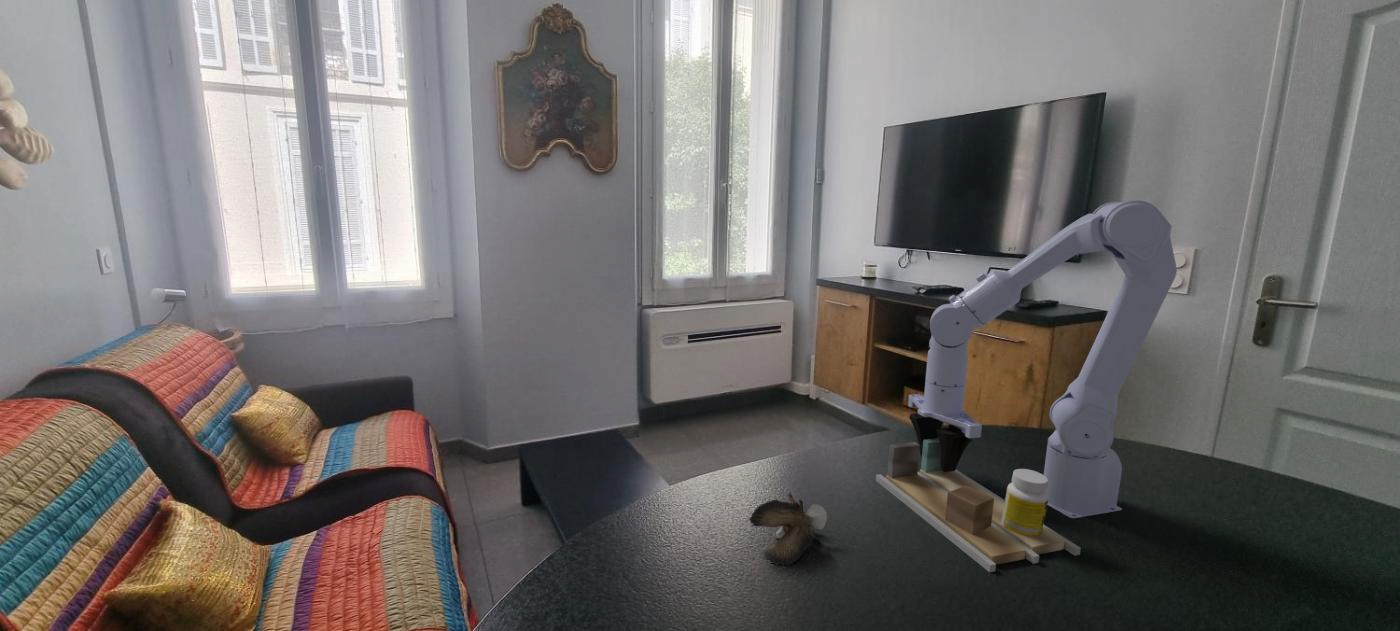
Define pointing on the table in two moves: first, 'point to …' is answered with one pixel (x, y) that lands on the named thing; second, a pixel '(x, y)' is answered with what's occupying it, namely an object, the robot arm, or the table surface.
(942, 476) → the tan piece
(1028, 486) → the supplement bottle
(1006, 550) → the gray handled wooden slider
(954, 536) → the lane board
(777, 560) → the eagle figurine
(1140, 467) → the table surface
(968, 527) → the walnut cube
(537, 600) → the table surface
